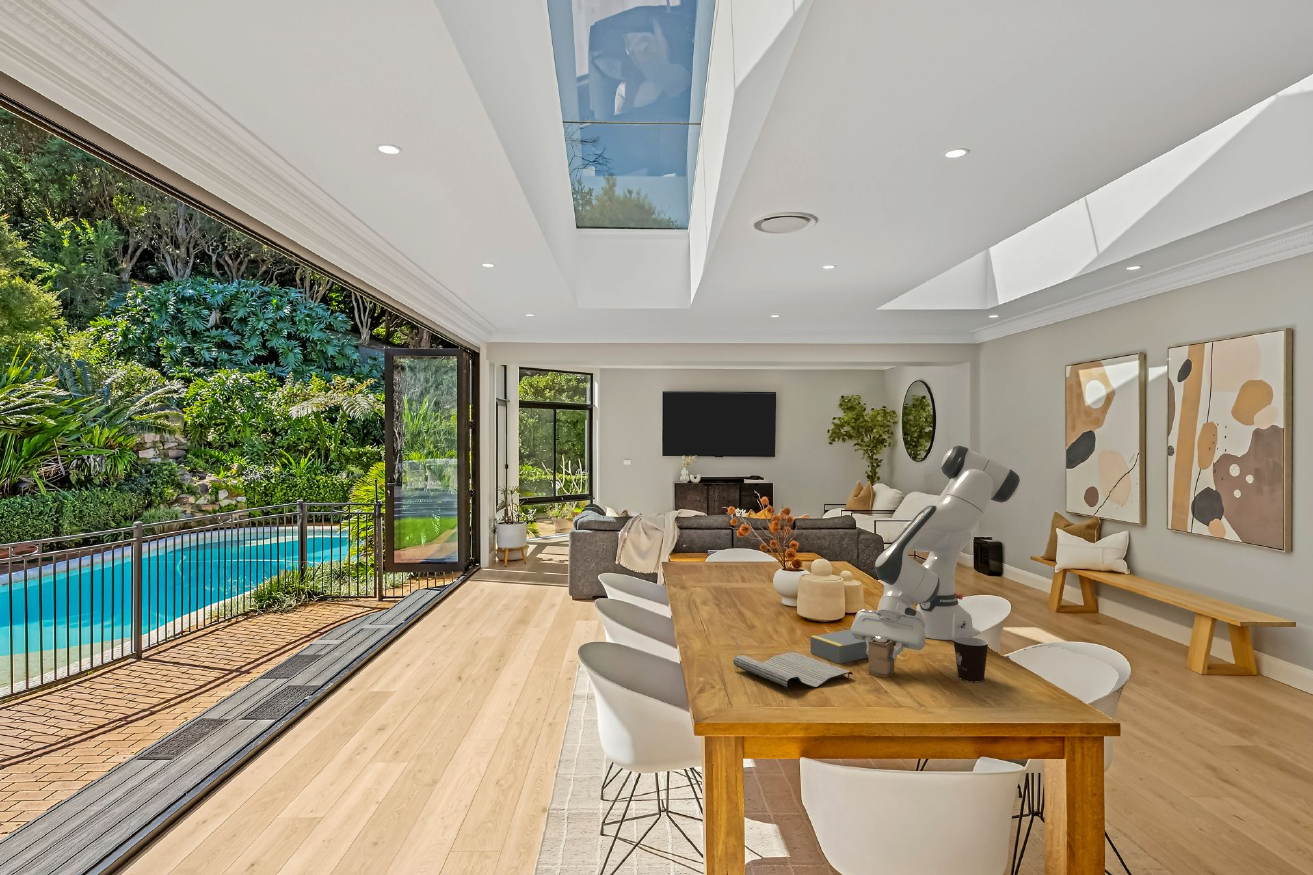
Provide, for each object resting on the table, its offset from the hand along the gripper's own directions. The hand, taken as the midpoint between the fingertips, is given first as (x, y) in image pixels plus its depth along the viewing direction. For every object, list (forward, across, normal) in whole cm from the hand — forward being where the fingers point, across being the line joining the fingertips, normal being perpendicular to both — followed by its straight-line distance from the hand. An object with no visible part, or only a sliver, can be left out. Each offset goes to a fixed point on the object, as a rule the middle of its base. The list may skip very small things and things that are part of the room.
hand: (880, 656), depth 187 cm
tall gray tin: (+3, 0, +4) cm, 5 cm away
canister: (-3, 0, -2) cm, 3 cm away
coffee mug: (-6, +20, +13) cm, 24 cm away
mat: (+15, -19, -7) cm, 25 cm away
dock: (-4, -15, +11) cm, 19 cm away
